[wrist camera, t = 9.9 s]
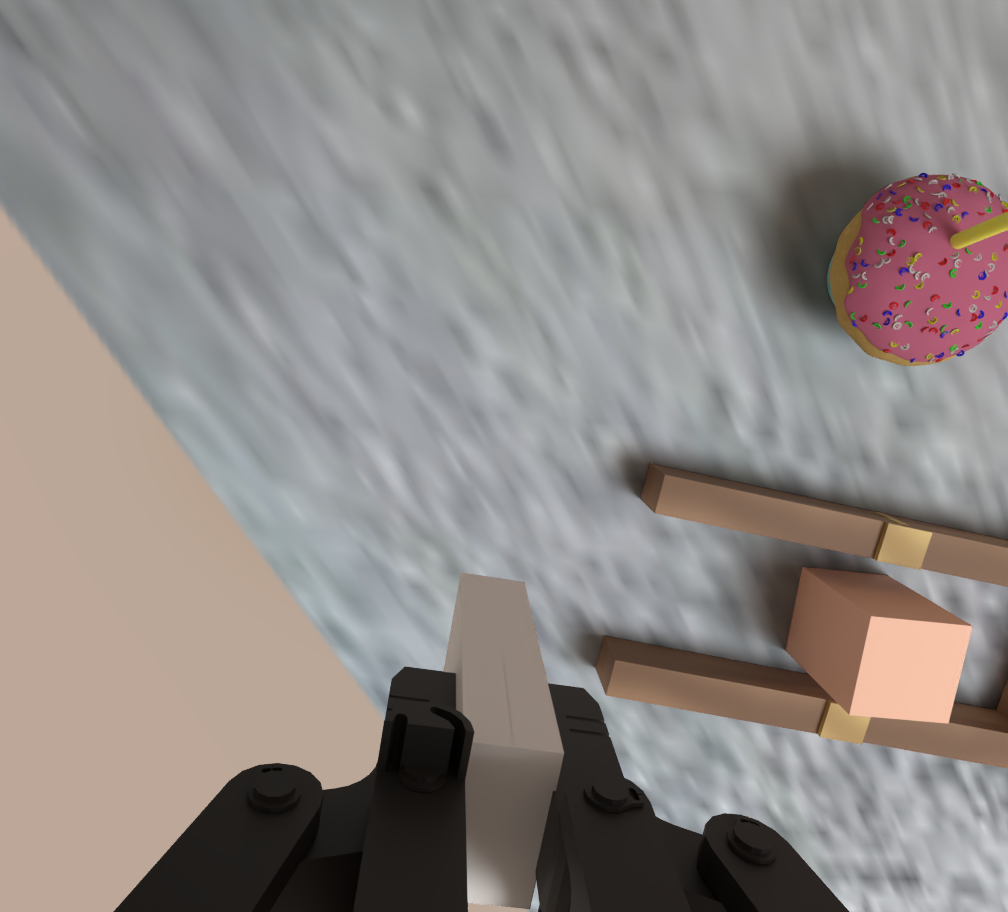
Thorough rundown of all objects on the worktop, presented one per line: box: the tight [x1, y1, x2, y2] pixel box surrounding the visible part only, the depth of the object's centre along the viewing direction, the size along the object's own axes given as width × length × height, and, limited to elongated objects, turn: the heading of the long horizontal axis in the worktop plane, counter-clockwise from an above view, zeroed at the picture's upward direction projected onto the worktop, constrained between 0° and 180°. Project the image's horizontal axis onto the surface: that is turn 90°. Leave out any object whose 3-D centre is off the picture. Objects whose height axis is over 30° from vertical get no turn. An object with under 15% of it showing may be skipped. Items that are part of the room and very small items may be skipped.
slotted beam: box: [596, 463, 1008, 768], centre depth 40 cm, size 12×26×3 cm, turn 77°
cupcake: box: [827, 173, 1008, 366], centre depth 32 cm, size 9×8×12 cm
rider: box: [786, 567, 972, 724], centre depth 38 cm, size 5×5×7 cm
